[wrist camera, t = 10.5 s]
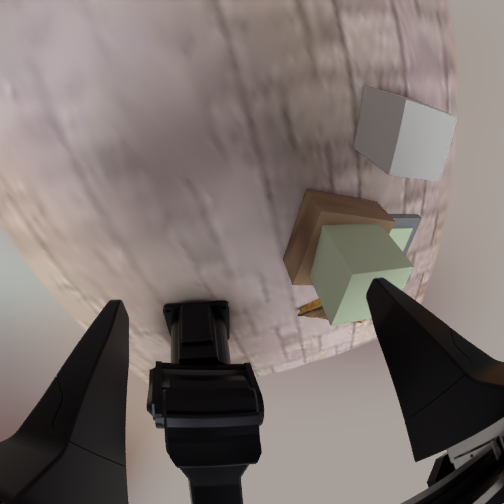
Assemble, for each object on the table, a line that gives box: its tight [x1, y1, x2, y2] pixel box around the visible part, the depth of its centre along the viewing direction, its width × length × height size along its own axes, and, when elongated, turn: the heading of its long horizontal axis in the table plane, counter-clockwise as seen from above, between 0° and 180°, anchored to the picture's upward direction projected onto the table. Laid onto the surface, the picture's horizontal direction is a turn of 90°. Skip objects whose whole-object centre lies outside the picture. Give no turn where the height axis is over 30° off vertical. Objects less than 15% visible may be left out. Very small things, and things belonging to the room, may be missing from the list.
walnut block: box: [283, 190, 395, 285], centre depth 23 cm, size 7×7×4 cm
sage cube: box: [310, 224, 414, 326], centre depth 19 cm, size 5×5×5 cm
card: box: [389, 215, 421, 255], centre depth 25 cm, size 5×5×1 cm
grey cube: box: [353, 86, 457, 181], centre depth 16 cm, size 5×5×5 cm
